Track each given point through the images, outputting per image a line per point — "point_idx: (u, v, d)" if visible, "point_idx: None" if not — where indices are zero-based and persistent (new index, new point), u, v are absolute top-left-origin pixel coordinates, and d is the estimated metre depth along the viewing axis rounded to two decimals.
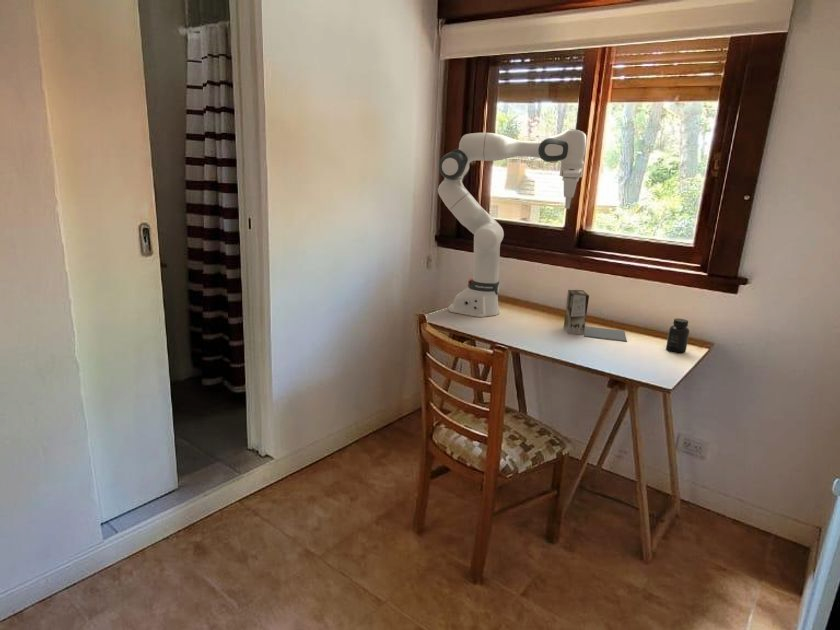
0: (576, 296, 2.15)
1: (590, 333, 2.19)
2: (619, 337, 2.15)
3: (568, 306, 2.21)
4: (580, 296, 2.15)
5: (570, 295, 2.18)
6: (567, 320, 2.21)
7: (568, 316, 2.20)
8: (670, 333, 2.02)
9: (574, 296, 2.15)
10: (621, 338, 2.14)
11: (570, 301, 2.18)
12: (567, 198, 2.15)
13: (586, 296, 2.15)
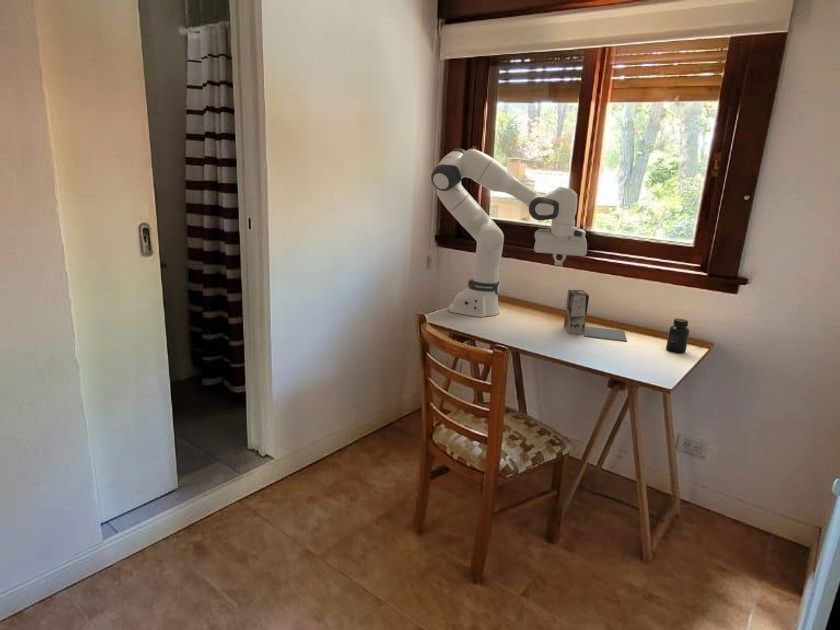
0: (576, 296, 2.15)
1: (590, 333, 2.19)
2: (619, 337, 2.15)
3: (568, 306, 2.21)
4: (580, 296, 2.15)
5: (570, 295, 2.18)
6: (567, 320, 2.21)
7: (568, 316, 2.20)
8: (670, 333, 2.02)
9: (574, 296, 2.15)
10: (621, 338, 2.14)
11: (570, 301, 2.18)
12: None
13: (586, 296, 2.15)
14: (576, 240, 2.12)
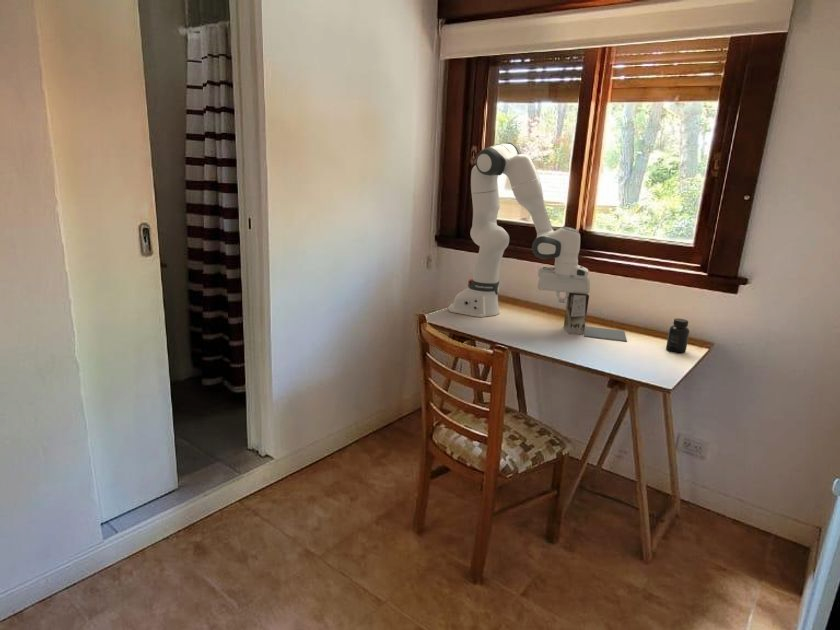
0: (576, 296, 2.15)
1: (590, 333, 2.19)
2: (619, 337, 2.15)
3: (568, 306, 2.21)
4: (580, 296, 2.15)
5: (570, 295, 2.18)
6: (567, 320, 2.21)
7: (568, 316, 2.20)
8: (670, 333, 2.02)
9: (574, 296, 2.15)
10: (621, 338, 2.14)
11: (570, 300, 2.18)
12: None
13: (586, 296, 2.15)
14: (579, 279, 2.15)
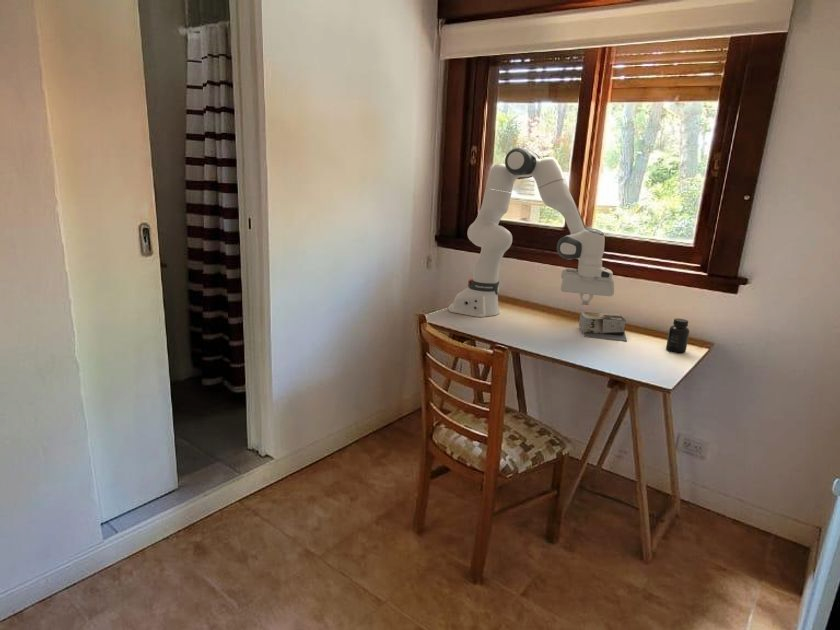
0: (624, 323, 2.16)
1: (590, 333, 2.19)
2: (619, 337, 2.15)
3: (607, 315, 2.21)
4: (623, 327, 2.17)
5: (620, 317, 2.20)
6: (594, 315, 2.20)
7: (599, 316, 2.19)
8: (670, 333, 2.02)
9: (624, 321, 2.16)
10: (621, 338, 2.14)
11: (615, 317, 2.19)
12: (592, 295, 2.17)
13: (623, 332, 2.17)
14: (603, 281, 2.13)
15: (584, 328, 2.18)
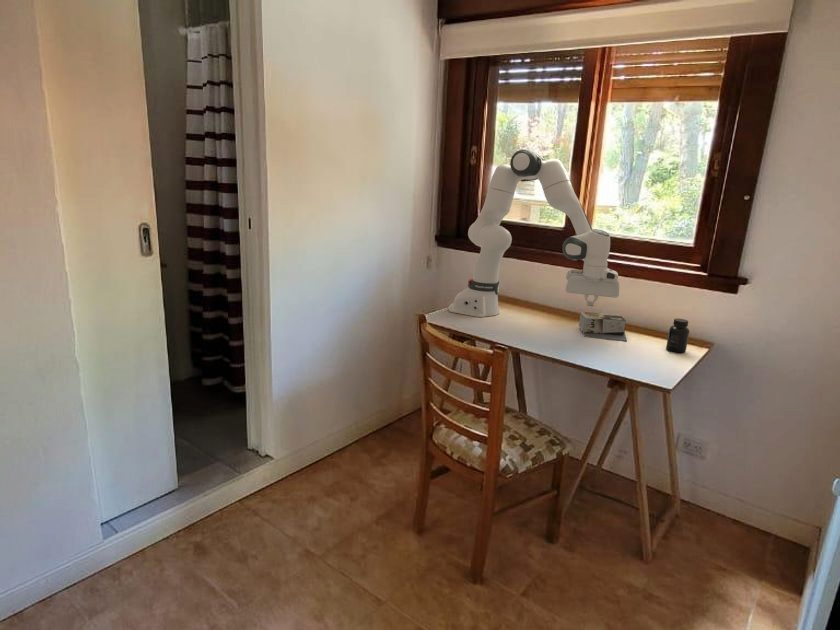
0: (624, 323, 2.16)
1: (590, 333, 2.19)
2: (619, 337, 2.15)
3: (607, 316, 2.21)
4: (623, 327, 2.17)
5: (620, 317, 2.20)
6: (594, 315, 2.20)
7: (599, 316, 2.19)
8: (670, 333, 2.02)
9: (624, 321, 2.16)
10: (621, 338, 2.14)
11: (615, 317, 2.19)
12: (597, 296, 2.17)
13: (623, 332, 2.17)
14: (608, 282, 2.13)
15: (584, 328, 2.18)
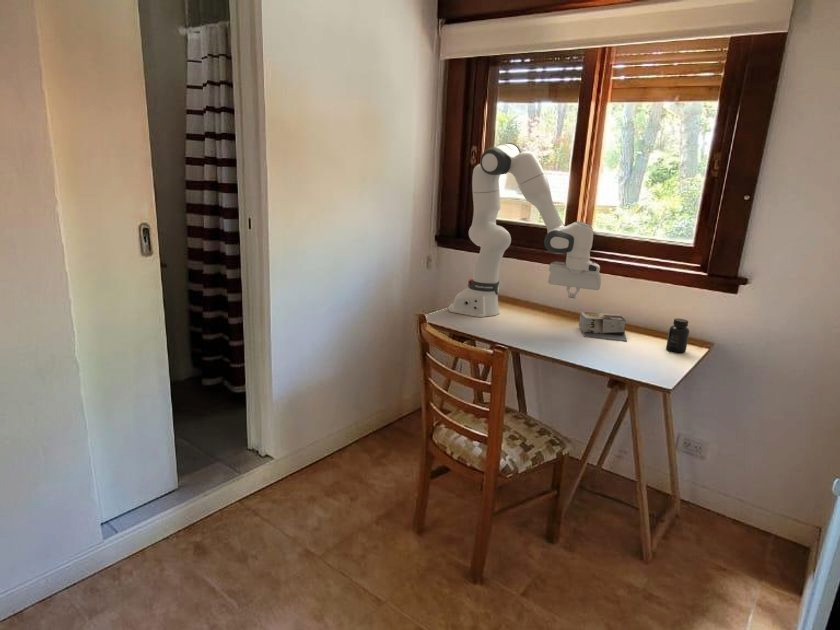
0: (624, 323, 2.16)
1: (590, 333, 2.19)
2: (619, 337, 2.15)
3: (607, 316, 2.21)
4: (623, 327, 2.17)
5: (620, 317, 2.20)
6: (594, 315, 2.20)
7: (599, 316, 2.19)
8: (670, 333, 2.02)
9: (624, 321, 2.16)
10: (621, 338, 2.14)
11: (615, 317, 2.19)
12: (579, 289, 2.18)
13: (623, 332, 2.17)
14: (590, 275, 2.14)
15: (584, 328, 2.18)
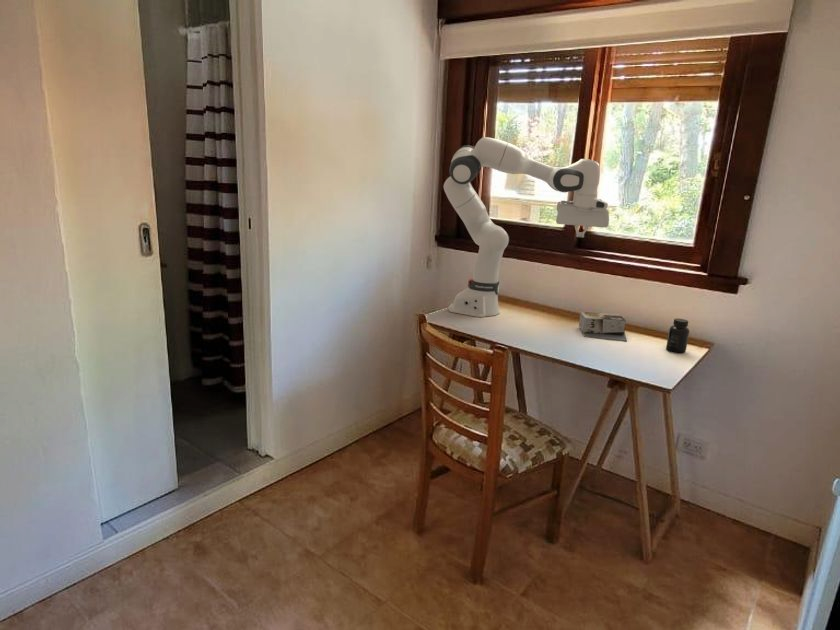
0: (624, 323, 2.16)
1: (590, 333, 2.19)
2: (619, 337, 2.15)
3: (607, 316, 2.21)
4: (623, 327, 2.17)
5: (620, 317, 2.20)
6: (594, 315, 2.20)
7: (599, 316, 2.19)
8: (670, 333, 2.02)
9: (624, 321, 2.16)
10: (621, 338, 2.14)
11: (615, 317, 2.19)
12: (587, 227, 2.18)
13: (623, 332, 2.17)
14: (598, 212, 2.14)
15: (584, 328, 2.18)
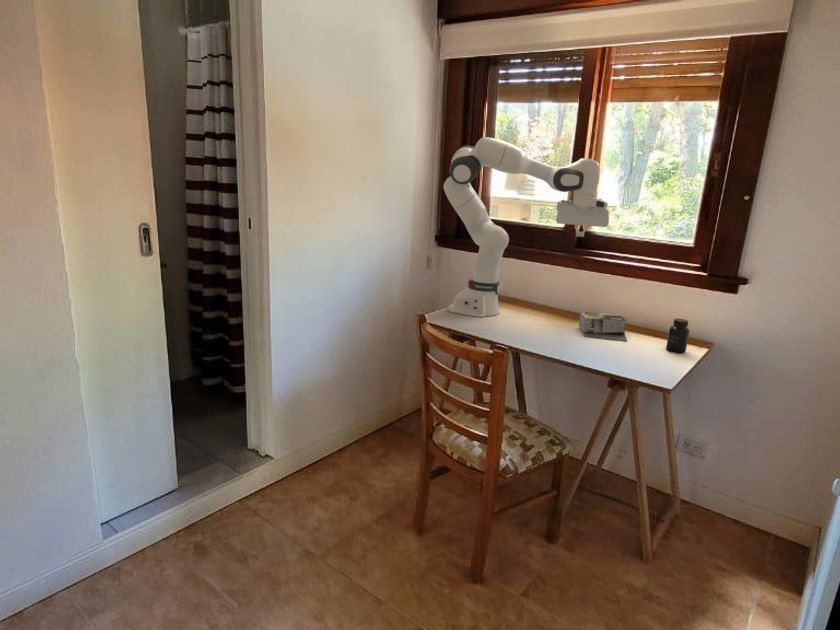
0: (624, 323, 2.16)
1: (590, 333, 2.19)
2: (619, 337, 2.15)
3: (607, 316, 2.21)
4: (623, 327, 2.17)
5: (620, 317, 2.20)
6: (594, 315, 2.20)
7: (599, 316, 2.19)
8: (670, 333, 2.02)
9: (624, 321, 2.16)
10: (621, 338, 2.14)
11: (615, 317, 2.19)
12: (587, 226, 2.18)
13: (623, 332, 2.17)
14: (598, 211, 2.14)
15: (584, 328, 2.18)
